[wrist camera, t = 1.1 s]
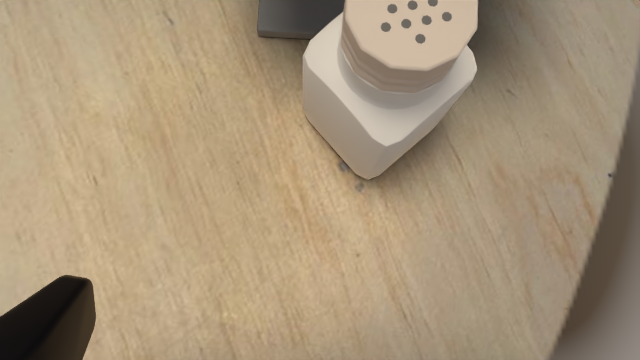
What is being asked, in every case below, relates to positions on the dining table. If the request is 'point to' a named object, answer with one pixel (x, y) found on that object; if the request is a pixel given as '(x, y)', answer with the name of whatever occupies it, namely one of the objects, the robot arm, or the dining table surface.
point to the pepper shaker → (387, 76)
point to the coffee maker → (296, 17)
